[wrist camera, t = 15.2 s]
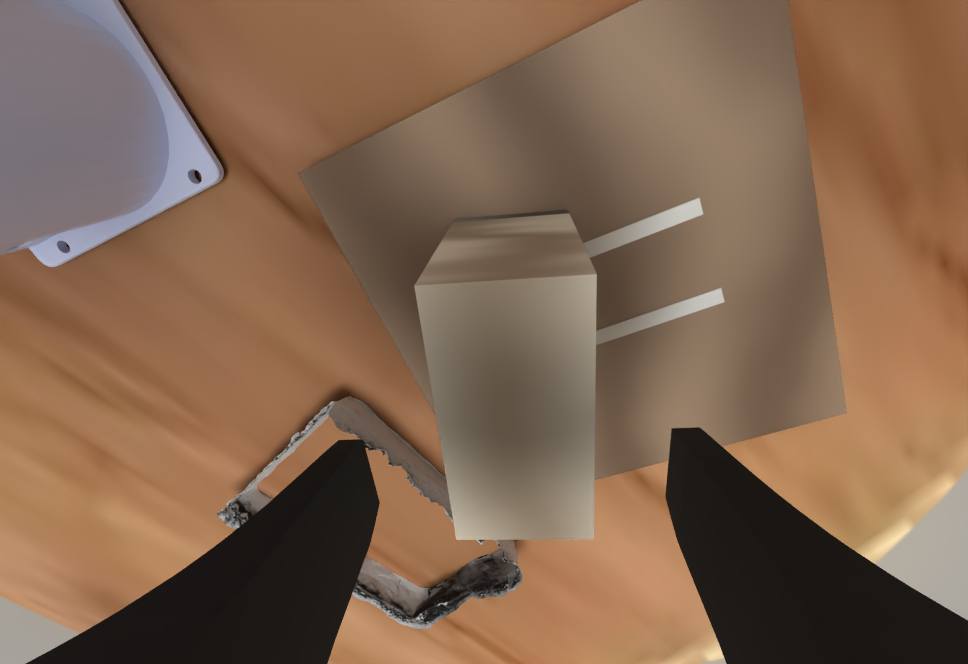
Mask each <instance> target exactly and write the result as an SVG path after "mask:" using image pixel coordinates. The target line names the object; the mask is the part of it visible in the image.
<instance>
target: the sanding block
mask: <svg viewBox="0 0 968 664" xmlns="http://www.w3.org/2000/svg"><path fill="white" fill-rule="evenodd" d="M414 287H415V293H416V299H417V305H418V311H419V317H420V323H421V329H422V335H423V341H424V347H425V353H426V359H427V365H428V371H429V377H430V383H431V389H432V395H433V402H434V408H435V414H436V420H437V426H438V432H439V438H440V444H441V450H442V456H443V462H444V468H445V474H446V480H447V486H448V492H449V498H450V504H451V510H452V516H453V522H454V528H455V534H456V540H550V539H594V468H595V382H596V296H597V274H596V271H595V269H594V267H593V265H592V262H591V260H590V258H589V256H588V254H587V251H586V249H585V247H584V245H583V242H582V240H581V238H580V236H579V234H578V231H577V229H576V227H575V225H574V222H573V220H572V218H571V216H570V213H569V211H568V210H560V211H547V212H534V213H521V214H509V215H496V216H483V217H470V218H458V219H454V221H453V223H452V224H451V226H450V228H449V229H448V231H447V233H446V234H445V236H444V238H443V239H442V241H441V243H440V244H439V246H438V248H437V249H436V251H435V252H434V254H433V256H432V257H431V259H430V261H429V262H428V264H427V266H426V267H425V269H424V271H423V272H422V274H421V276H420V277H419V279H418V280H417V282H416V284H415V285H414Z"/></svg>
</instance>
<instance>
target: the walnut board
mask: <svg viewBox="0 0 968 664" xmlns="http://www.w3.org/2000/svg"><path fill="white" fill-rule="evenodd" d="M298 175H299V177H300V178H301V180H302V182H303V184H304V185H305V187H306V189H307V191H308V192H309V194H310V196H311V198H312V199H313V201H314V203H315V205H316V206H317V208H318V210H319V212H320V214H321V215H322V217H323V219H324V221H325V222H326V224H327V226H328V228H329V229H330V231H331V233H332V235H333V236H334V238H335V240H336V242H337V243H338V245H339V247H340V249H341V250H342V252H343V254H344V256H345V257H346V259H347V261H348V263H349V265H350V266H351V268H352V270H353V272H354V273H355V275H356V277H357V279H358V280H359V282H360V284H361V286H362V287H363V289H364V291H365V293H366V294H367V296H368V298H369V300H370V301H371V303H372V305H373V307H374V308H375V310H376V312H377V314H378V315H379V317H380V319H381V321H382V323H383V324H384V326H385V328H386V330H387V331H388V333H389V335H390V337H391V338H392V340H393V342H394V344H395V345H396V347H397V349H398V351H399V352H400V354H401V356H402V358H403V359H404V361H405V363H406V365H407V366H408V368H409V370H410V372H411V374H412V375H413V377H414V379H415V381H416V382H417V384H418V386H419V388H420V389H421V391H422V393H423V395H424V396H425V398H426V400H427V402H428V403H429V405H430V407H431V409H432V410H433V412H434V414H435V408H434V402H433V395H432V389H431V383H430V377H429V371H428V365H427V359H426V353H425V347H424V341H423V335H422V329H421V323H420V317H419V311H418V305H417V299H416V293H415V287H414V285H415V284H416V282H417V280H418V279H419V277H420V276H421V274H422V272H423V271H424V269H425V267H426V266H427V264H428V262H429V261H430V259H431V257H432V256H433V254H434V252H435V251H436V249H437V248H438V246H439V244H440V243H441V241H442V239H443V238H444V236H445V234H446V233H447V231H448V229H449V228H450V226H451V224H452V223H453V221H454V219H458V218H470V217H483V216H496V215H509V214H521V213H534V212H547V211H560V210H568V211H569V213H570V216H571V218H572V220H573V222H574V225H575V227H576V229H577V231H578V234H579V236H580V238H581V240H582V242H583V245H584V247H585V249H586V251H587V254H588V256H589V258H590V260H591V262H592V265H593V267H594V269H595V271H596V274H597V296H596V382H595V468H594V480H597V479H601V478H605V477H608V476H612V475H616V474H620V473H623V472H627V471H631V470H635V469H639V468H642V467H646V466H650V465H654V464H657V463H661V462H665V461H669V452H670V440H671V429H672V428H694V427H700V428H701V429H702V430H704V431H705V432H706V433H707V434H708V435H709V436H711V437H712V438H713V439H714V440H715V441H716V442H717V443H718V444H720V445H721V446H725V445H729V444H733V443H736V442H740V441H744V440H748V439H752V438H755V437H759V436H763V435H767V434H770V433H774V432H778V431H782V430H785V429H789V428H793V427H797V426H800V425H804V424H808V423H812V422H816V421H819V420H823V419H827V418H831V417H834V416H838V415H842V414H846V413H847V411H846V404H845V397H844V390H843V383H842V376H841V369H840V362H839V355H838V348H837V341H836V334H835V327H834V320H833V313H832V306H831V299H830V292H829V285H828V278H827V271H826V264H825V257H824V250H823V243H822V236H821V229H820V222H819V215H818V208H817V201H816V194H815V187H814V180H813V173H812V166H811V159H810V152H809V145H808V138H807V131H806V124H805V117H804V110H803V103H802V97H801V90H800V83H799V76H798V69H797V62H796V55H795V48H794V41H793V34H792V27H791V20H790V13H789V6H788V0H641V1H639V2H637V3H635V4H633V5H631V6H629V7H627V8H625V9H623V10H621V11H619V12H617V13H615V14H613V15H611V16H609V17H607V18H605V19H603V20H601V21H599V22H597V23H595V24H593V25H591V26H589V27H587V28H585V29H583V30H581V31H579V32H577V33H575V34H573V35H571V36H569V37H567V38H565V39H563V40H561V41H559V42H557V43H555V44H553V45H551V46H549V47H547V48H545V49H543V50H541V51H539V52H537V53H535V54H533V55H532V56H530V57H528V58H526V59H524V60H522V61H520V62H518V63H516V64H514V65H512V66H510V67H508V68H506V69H504V70H502V71H500V72H498V73H496V74H494V75H492V76H490V77H488V78H486V79H484V80H482V81H480V82H478V83H476V84H474V85H472V86H470V87H468V88H466V89H464V90H462V91H460V92H458V93H456V94H454V95H452V96H450V97H448V98H446V99H444V100H442V101H440V102H438V103H436V104H434V105H432V106H430V107H428V108H426V109H424V110H422V111H420V112H418V113H416V114H414V115H412V116H410V117H408V118H406V119H404V120H402V121H400V122H398V123H396V124H394V125H392V126H390V127H388V128H386V129H384V130H382V131H380V132H379V133H377V134H375V135H373V136H371V137H369V138H367V139H365V140H363V141H361V142H359V143H357V144H355V145H353V146H351V147H349V148H347V149H345V150H343V151H341V152H339V153H337V154H335V155H333V156H331V157H329V158H327V159H325V160H323V161H321V162H319V163H317V164H315V165H313V166H311V167H309V168H307V169H305V170H303V171H301V172H299V173H298ZM435 416H436V414H435Z"/></svg>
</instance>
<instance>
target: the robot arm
mask: <svg viewBox="0 0 968 664" xmlns="http://www.w3.org/2000/svg"><path fill="white" fill-rule="evenodd" d="M195 170H197V171H198V172H199V173H200V174H201V177H202V181H201V182H200V181H198V180H197V179H196V177H195ZM223 176H224V171H223V168H222V165H221V163H220V162H219V160H218V159H217V157H216V155H215V154H214V152H213V151H212V149H211V148H210V146H209V144H208V143H207V141H206V140H205V138H204V136H203V135H202V133H201V132H200V130H199V128H198V127H197V125H196V124H195V122H194V120H193V119H192V117H191V116H190V114H189V112H188V111H187V109H186V108H185V106H184V104H183V103H182V101H181V100H180V98H179V97H178V95H177V93H176V92H175V90H174V89H173V87H172V85H171V84H170V82H169V81H168V79H167V77H166V76H165V74H164V73H163V71H162V69H161V68H160V66H159V65H158V63H157V61H156V60H155V58H154V57H153V55H152V53H151V52H150V50H149V49H148V47H147V46H146V44H145V42H144V41H143V39H142V38H141V36H140V34H139V33H138V31H137V30H136V28H135V26H134V25H133V23H132V22H131V20H130V18H129V17H128V15H127V14H126V12H125V10H124V9H123V7H122V6H121V4H120V2H119V1H118V0H0V256H1V255H5V254H8V253H12V252H15V251H19V250H22V249H26V248H29V249H30V250H31V251H32V252H33V254H34V255H35V256H36V257H37V258H38V259H39V260H40V261H41V262H42V263H43V264H45V265H46V266H49V267H56V266H59V265H62V264H64V263H66V262H68V261H70V260H72V259H74V258H76V257H78V256H80V255H81V254H83V253H85V252H87V251H89V250H91V249H93V248H95V247H97V246H99V245H101V244H102V243H104V242H106V241H108V240H110V239H112V238H114V237H116V236H118V235H120V234H122V233H124V232H125V231H127V230H129V229H131V228H133V227H135V226H137V225H139V224H141V223H143V222H145V221H146V220H148V219H150V218H152V217H154V216H156V215H158V214H160V213H162V212H164V211H166V210H168V209H169V208H171V207H173V206H175V205H177V204H179V203H181V202H183V201H185V200H187V199H189V198H190V197H192V196H194V195H196V194H198V193H200V192H202V191H204V190H206V189H208V188H210V187H211V186H213V185H215V184H217V183H219V182H220V181H221V180H222V179H223ZM66 243H67V244H68V245H69V247H70V249H69V248H68V247H67V245H66ZM666 500H667V504H668V508H669V512H670V516H671V519H672V523H673V526H674V530H675V534H676V537H677V540H678V543H679V546H680V548H681V551H682V553H683V556H684V558H685V561H686V563H687V566H688V568H689V571H690V573H691V576H692V578H693V581H694V583H695V585H696V588H697V590H698V593H699V595H700V598H701V600H702V603H703V605H704V608H705V610H706V612H707V615H708V617H709V620H710V622H711V625H712V627H713V630H714V632H715V634H716V637H717V639H718V642H719V644H720V647H721V650H722V652H723V655H724V658H725V661H726V663H727V664H968V620H966V619H964V618H962V617H961V616H959V615H957V614H955V613H954V612H952V611H950V610H948V609H947V608H945V607H944V606H942V605H940V604H938V603H937V602H935V601H933V600H932V599H930V598H928V597H927V596H925V595H923V594H921V593H920V592H918V591H916V590H915V589H913V588H911V587H910V586H908V585H906V584H905V583H903V582H902V581H900V580H898V579H897V578H895V577H894V576H892V575H890V574H889V573H887V572H886V571H884V570H883V569H881V568H880V567H878V566H877V565H875V564H874V563H872V562H871V561H869V560H868V559H866V558H865V557H863V556H862V555H860V554H859V553H857V552H856V551H854V550H853V549H851V548H850V547H848V546H847V545H845V544H844V543H842V542H841V541H839V540H838V539H837V538H835V537H834V536H832V535H831V534H829V533H828V532H827V531H825V530H824V529H823V528H821V527H820V526H819V525H817V524H816V523H815V522H813V521H812V520H811V519H809V518H808V517H807V516H805V515H804V514H803V513H801V512H800V511H799V510H797V509H796V508H795V507H793V506H792V505H791V504H790V503H788V502H787V501H786V500H784V499H783V498H782V497H781V496H779V495H778V494H777V493H776V492H774V491H773V490H772V489H771V488H770V487H768V486H767V485H766V484H765V483H764V482H762V481H761V480H760V479H759V478H757V477H756V476H755V475H754V474H753V473H752V472H750V471H749V470H748V469H747V468H746V467H745V466H743V465H742V464H741V463H740V462H739V461H738V460H737V459H735V458H734V457H733V456H732V455H731V454H730V453H729V452H727V451H726V450H725V449H724V448H723V447H722V446H721V445H720V444H718V443H717V442H716V441H715V440H714V439H713V438H712V437H711V436H709V435H708V434H707V433H706V432H705V431H704V430H702V429H701V428H700V427H694V428H672V429H671V440H670V452H669V463H668V475H667V486H666ZM379 503H380V502H379V499H378V495H377V491H376V487H375V484H374V480H373V476H372V472H371V468H370V465H369V461H368V457H367V453H366V449H365V446H364V442H363V439H360V440H339V441H337V442H336V443H335V444H334V445H333V446H331V447H330V448H329V449H328V450H327V451H326V452H325V453H323V454H322V455H321V456H320V457H319V458H318V459H317V460H316V461H315V462H314V463H312V464H311V465H310V466H309V467H308V468H307V469H306V470H305V471H304V472H303V473H302V474H300V475H299V476H298V477H297V478H296V479H295V480H294V481H293V482H292V483H290V484H289V485H288V486H287V487H286V488H285V489H284V490H283V491H281V492H280V493H279V494H278V495H277V496H276V497H275V498H274V499H273V500H271V501H270V502H269V503H268V504H267V505H265V506H264V507H263V508H262V509H261V510H259V511H258V512H257V513H256V514H255V515H253V516H252V517H251V518H250V519H249V520H247V521H246V522H245V523H244V524H243V525H241V526H240V527H239V528H238V529H236V530H235V531H234V532H233V533H232V534H230V535H229V536H228V537H227V538H225V539H224V540H223V541H221V542H220V543H219V544H217V545H216V546H215V547H213V548H212V549H211V550H209V551H208V552H207V553H205V554H204V555H203V556H201V557H200V558H198V559H197V560H196V561H194V562H193V563H191V564H190V565H189V566H187V567H186V568H184V569H183V570H182V571H180V572H179V573H177V574H176V575H174V576H173V577H171V578H170V579H168V580H167V581H165V582H164V583H162V584H161V585H159V586H157V587H156V588H154V589H153V590H151V591H150V592H148V593H147V594H145V595H143V596H142V597H140V598H139V599H137V600H136V601H134V602H133V603H131V604H129V605H128V606H126V607H125V608H123V609H122V610H120V611H118V612H117V613H115V614H113V615H112V616H110V617H108V618H107V619H105V620H103V621H102V622H100V623H98V624H96V625H95V626H93V627H91V628H90V629H88V630H86V631H84V632H83V633H81V634H79V635H78V636H76V637H74V638H72V639H70V640H68V641H67V642H65V643H63V644H61V645H59V646H58V647H56V648H54V649H52V650H51V651H49V652H47V653H45V654H43V655H41V656H39V657H37V658H36V659H34V660H32V661H30V662H28V663H26V664H327V663H328V660H329V657H330V654H331V651H332V648H333V644H334V641H335V639H336V636H337V633H338V630H339V628H340V625H341V622H342V620H343V617H344V614H345V611H346V609H347V606H348V603H349V601H350V598H351V595H352V593H353V590H354V587H355V584H356V582H357V579H358V576H359V574H360V571H361V568H362V565H363V562H364V560H365V557H366V554H367V551H368V548H369V545H370V542H371V538H372V534H373V530H374V526H375V521H376V517H377V512H378V508H379Z"/></svg>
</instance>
